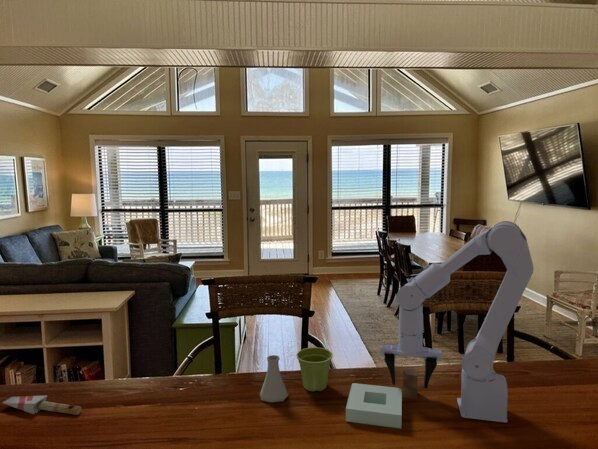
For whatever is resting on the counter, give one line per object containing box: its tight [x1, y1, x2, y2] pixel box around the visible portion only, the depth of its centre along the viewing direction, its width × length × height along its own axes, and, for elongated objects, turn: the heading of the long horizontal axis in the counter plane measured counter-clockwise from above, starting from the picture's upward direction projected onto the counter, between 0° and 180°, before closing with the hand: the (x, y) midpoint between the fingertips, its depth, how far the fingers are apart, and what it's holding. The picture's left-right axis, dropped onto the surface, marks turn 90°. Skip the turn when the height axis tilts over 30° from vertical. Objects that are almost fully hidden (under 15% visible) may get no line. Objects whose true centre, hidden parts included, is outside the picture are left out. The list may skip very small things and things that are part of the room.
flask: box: [259, 354, 289, 404], centre depth 101 cm, size 7×7×10 cm
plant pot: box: [296, 346, 334, 392], centre depth 106 cm, size 9×9×9 cm
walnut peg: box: [402, 367, 419, 400], centre depth 101 cm, size 3×3×6 cm
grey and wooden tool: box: [2, 394, 83, 416], centre depth 96 cm, size 4×3×20 cm
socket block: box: [345, 382, 403, 429], centre depth 94 cm, size 12×12×3 cm
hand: (409, 384), depth 101 cm, fingers open, 7 cm apart
